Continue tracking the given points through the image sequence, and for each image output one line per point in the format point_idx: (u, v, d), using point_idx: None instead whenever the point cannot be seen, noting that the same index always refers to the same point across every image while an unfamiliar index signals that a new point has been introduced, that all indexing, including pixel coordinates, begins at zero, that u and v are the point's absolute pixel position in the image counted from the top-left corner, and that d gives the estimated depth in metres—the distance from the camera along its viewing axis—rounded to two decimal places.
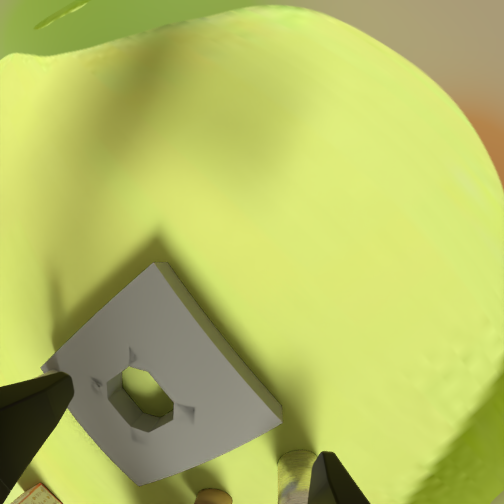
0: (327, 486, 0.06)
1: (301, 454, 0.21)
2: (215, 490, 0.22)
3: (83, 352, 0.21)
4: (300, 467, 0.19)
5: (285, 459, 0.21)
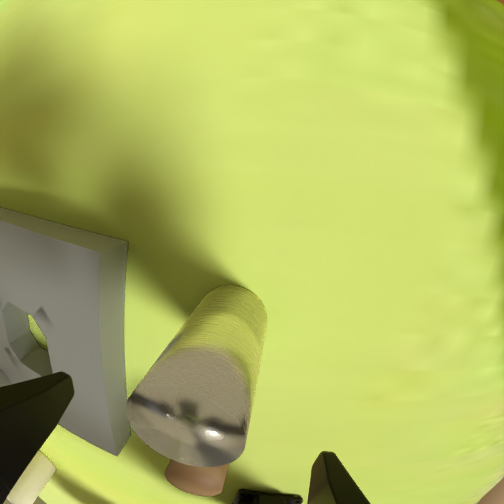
0: (327, 486, 0.06)
1: (206, 296, 0.15)
2: None
3: None
4: (192, 314, 0.13)
5: None
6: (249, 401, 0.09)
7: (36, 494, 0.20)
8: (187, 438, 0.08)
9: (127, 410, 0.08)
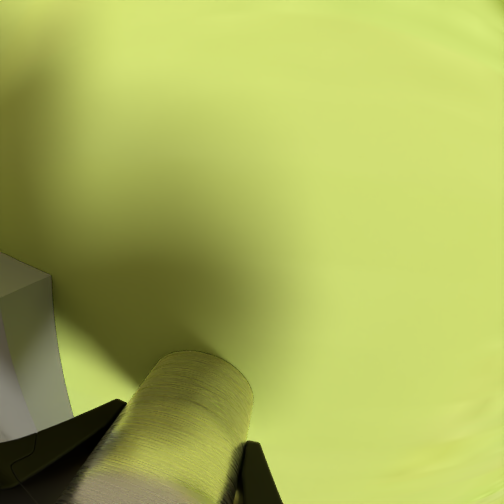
0: (241, 476, 0.06)
1: (156, 368, 0.09)
2: None
3: None
4: (125, 408, 0.07)
5: None
6: None
7: None
8: None
9: None
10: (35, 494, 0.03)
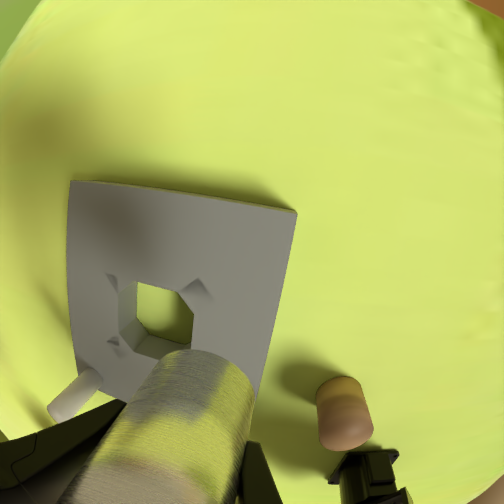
0: (241, 476, 0.06)
1: (157, 367, 0.09)
2: (328, 381, 0.21)
3: (85, 322, 0.19)
4: (126, 407, 0.07)
5: None
6: None
7: None
8: None
9: None
10: (35, 493, 0.03)
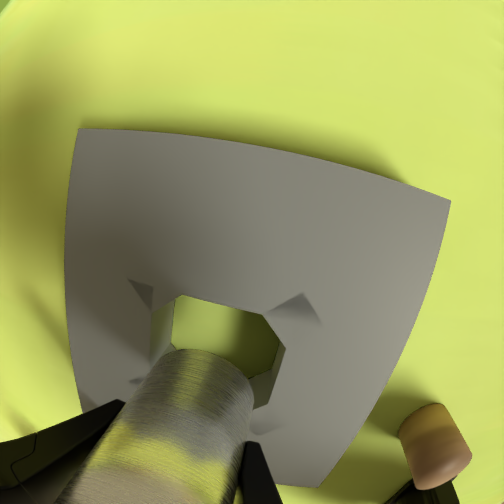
0: (241, 476, 0.06)
1: (156, 366, 0.09)
2: (418, 412, 0.14)
3: (94, 352, 0.13)
4: (124, 406, 0.07)
5: None
6: None
7: None
8: None
9: None
10: (35, 493, 0.03)
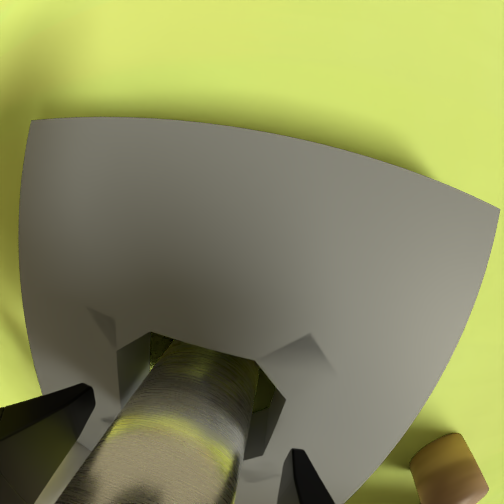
0: (293, 484, 0.06)
1: (176, 340, 0.11)
2: (434, 444, 0.11)
3: (61, 385, 0.10)
4: (151, 371, 0.09)
5: None
6: None
7: None
8: None
9: None
10: None
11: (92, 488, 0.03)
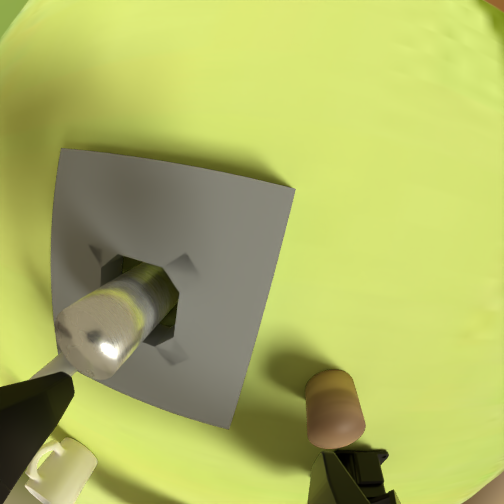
0: (327, 486, 0.06)
1: None
2: (319, 374, 0.20)
3: (67, 298, 0.18)
4: None
5: None
6: (128, 331, 0.13)
7: (78, 493, 0.21)
8: (86, 350, 0.12)
9: (55, 329, 0.12)
10: None
11: (78, 301, 0.12)
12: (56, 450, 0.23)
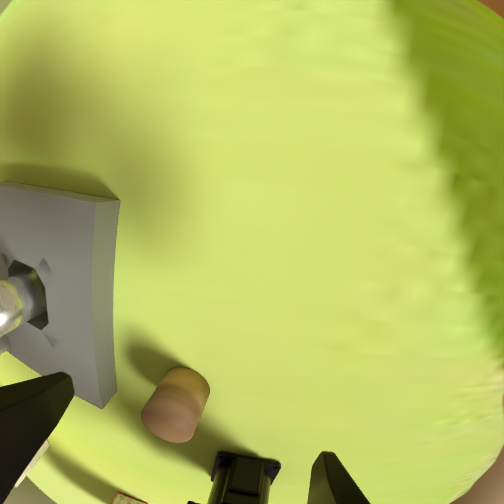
0: (327, 486, 0.06)
1: None
2: (170, 370, 0.21)
3: None
4: None
5: None
6: (0, 311, 0.14)
7: (28, 468, 0.22)
8: None
9: None
10: None
11: None
12: None
